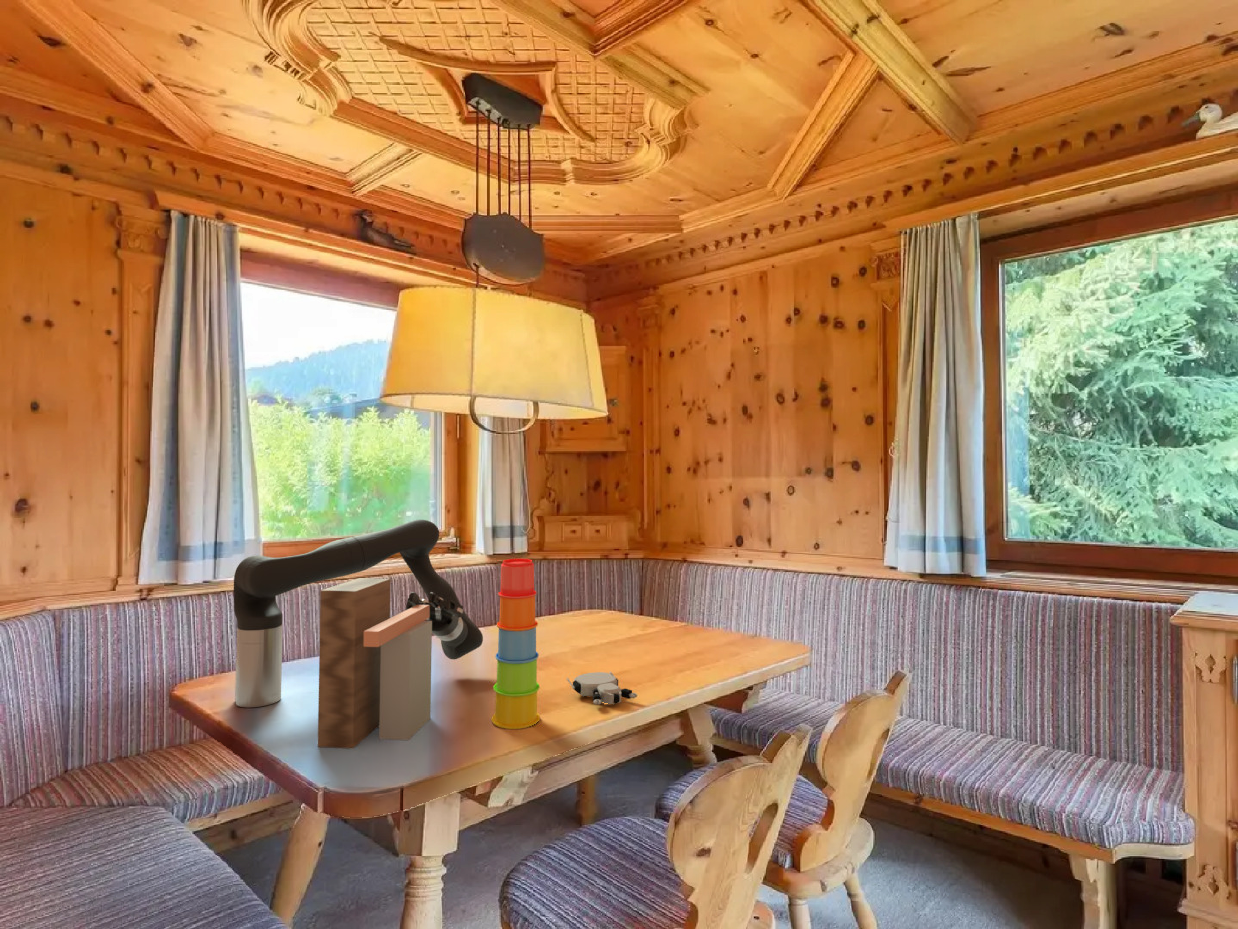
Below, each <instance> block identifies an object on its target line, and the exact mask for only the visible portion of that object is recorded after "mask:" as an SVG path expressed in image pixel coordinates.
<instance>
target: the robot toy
mask: <svg viewBox="0 0 1238 929" xmlns="http://www.w3.org/2000/svg"><path fill="white" fill-rule="evenodd" d="M566 681H567V682H568V683H569V684H570V687H571V689H572V690H574V691H575V692H577V694H579V695H580V696H582V697H584V696H589V697H592V701H593V702H592V703H593V704H594V705H601V704H602V702H604V703H608V704H613V705H616V704H621V703H622V698H625V699H628V700H630V699H635V698H638V694H637V693H636V692H633V690H631V689H629V688H626V687H625V688H620V686H619V679H618V678H617V677H616V676H615V675H614V674H613V673H612V671H609V672H605V671H601V672H600V671H599V672H598V671H595V672H587V673H584V674H579V675H577V676H576V677H575V678H574V679H573V682H571V681H570V679H569V678H568V677H567V678H566ZM620 702H621V703H620ZM614 703H615V704H614Z"/></svg>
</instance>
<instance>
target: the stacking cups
mask: <svg viewBox="0 0 1238 929" xmlns="http://www.w3.org/2000/svg"><path fill="white" fill-rule="evenodd" d="M497 593H498V594H497V595H498V596H499V621H498V622H497V623H496V627H497V628H498V643H497V644H498V645H497V653H496V654H495V659H496V661H497V662H496V663H497V664H496V683H495V684H494V685H493V688H492V689H493V692H494V693H495V706H494V708H495V710H494V711H495V712H494V714H493V715H492V717H491V723H492V724H493V725H494V726H496V727H498V728H501V729H504V728H505V730H522V729H521V728H523V729H528V728H530V727H529V726H531V727H533V726H535V725H536V723H537V722H538V721H539V722H540V720H541V716H540V714H539V713H538V708H537V707H538V692H539V690H540V687H541V686H540V684H539V683H538V682H537V679H538V678H537V673H538V672H537V670H538V669H537V668H538V663H537V662H538V661H537V659H538V658H539V655H540V654H539V652H537V627H538V624H539V623H538V621H536V595H537V591H536V590H535V564H534V562H533V560H532V559H530V558H520V557H519V558H518V557H517V558H508V559H507V558H506V559H504V560H502V563H501V565H500V591H499V592H497ZM539 722H538V723H539ZM538 723H537V724H538ZM534 724H535V725H534ZM532 725H533V726H532ZM527 727H528V728H527Z"/></svg>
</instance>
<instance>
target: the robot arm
mask: <svg viewBox="0 0 1238 929" xmlns="http://www.w3.org/2000/svg"><path fill="white" fill-rule="evenodd" d="M439 538H440V530H439V528H438V526H437V525H436V524H435V523H433V521H429V520H427V519H416V520H411V521H408V522H406V523H402V524H399V525H396V526H394V527H390V528H387V529H383V530H379V531H374V532H369V533H365V534H360V535H356V536H350V537H345V538H340V539H337V540H333V541H330V542H327V543H325V544H323V545H321V546H319V547H318V548H316V549H313V550H311V551H309V552H306V553H303V554H302V553H301V554H296V555H290V556H283V557H272V556H265V555H251V556H248V557H246V558H244V559H243V560H241V561H240V563H239V564H238V565H237V567H236V569H235V572H234V575H233V576H234V577H233V612H234V616H235V619H236V622H237V624H236V626H237V628H236V660H235V686H234V687H235V689H234V691H235V693H234V694H235V696H234V697H235V699H234V700H235V706H236V707H237V706H238V707H241V708H258V707H265V706H269V705H272V704H276V703H277V702H279V701H280V700H281V699H282V668H283V666H282V665H283V616H284V615H283V613H282V611H281V609H280V608H279V606H278V603H277V599H276V598H277V596H279V595H282V594H285V593H287V592H290V591H292V590H295V589H298V588H301V587H303V586H307V585H309V584H312V583H313V584H314V583H319V582H323V581H327V580H334V579H337V578H341V577H345V576H349V575H353V574H357V573H360V572H361V573H362V572H363V571H367V570H368V569H370V568H372V567H374V566H376V565H378V564H380V563H382V562H383V561H385V560H386V559H388V558H390V557H392V556H393V555H396V554H400V557H402V559H403V561H404V563H405V564H406V565H407V566H408V568H409V570H410V571H411V573H412V575H413V576H414V577H415V579H416V580H417V582H418V584H419V585H420V587H421V589H422V590H423V592H424V593H425V595H426V598H422V597H420V596H419V594H418V593H416V592H415V591H411V592H410V594H409V595H408V598H407V600H406V606H405V611H406V610H408V609H410V608H412V607H414V606H416V605H430V616H429V618H428V619H426V620H425V621H432V635H434V636H435V637H436V638H437V639H439V640H440V646H441V650H442V651H443V654H444V655H445V657H446V658H448V659H449V660H458V659H460V658H462V657H464V656H466V655H468V654H469V653H471V652H473V651H475V650H477V649H479V648H480V647H481V646H482V644H483V641H484V637H483V633H482V631H481V629H480V628H479V627H478V626H477V625H476V623H475V622H473V620H472V619H471V618H470V617H469V616H468V614H466V612H465V609H464V605H462V604H461V603H460V600H459V598H458V595H457V594H456V591H455V590H454V588H453V587H452V586H451V584H450V583H449V582H448V581H447V580H446V579H444V578H443V577H442V576H441V575H440V574H438V572H437V571H436V570H435V569H434V567H433V564H432V563H431V558H430V555H429V554H430V553H431V551H432V550H433V549H434V548H435V546H436V545H437V543H438V540H439Z"/></svg>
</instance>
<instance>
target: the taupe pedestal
mask: <svg viewBox="0 0 1238 929" xmlns="http://www.w3.org/2000/svg"><path fill="white" fill-rule="evenodd" d="M432 639H433V633H432V621H423V622H421V623H419V624H418V625H416V626H414V627H412V628H411V629H409V630H407V631H405V632H404V633H402V634H400V635H398V636H397V637H395V638H393V639H391V640H390V641H388V642H386V643H384V644H383V645H381V665H380V722H379V727H378V728H379V731H378V734H379V735H378V736H379V737H378V739H379V740H394V741H395V740H396V741H397V740H398V741H409V740H411V738H412V737H413V736H415V735H416V733H418V731H420V729H422V727H423V726H424V725H425V724H427V723H428V722H429V721H430V719H431V708H432V706H431V704H432V701H431V700H432V699H431V698H432V687H431V686H432V646H433V645H432V644H433V643H432Z"/></svg>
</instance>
